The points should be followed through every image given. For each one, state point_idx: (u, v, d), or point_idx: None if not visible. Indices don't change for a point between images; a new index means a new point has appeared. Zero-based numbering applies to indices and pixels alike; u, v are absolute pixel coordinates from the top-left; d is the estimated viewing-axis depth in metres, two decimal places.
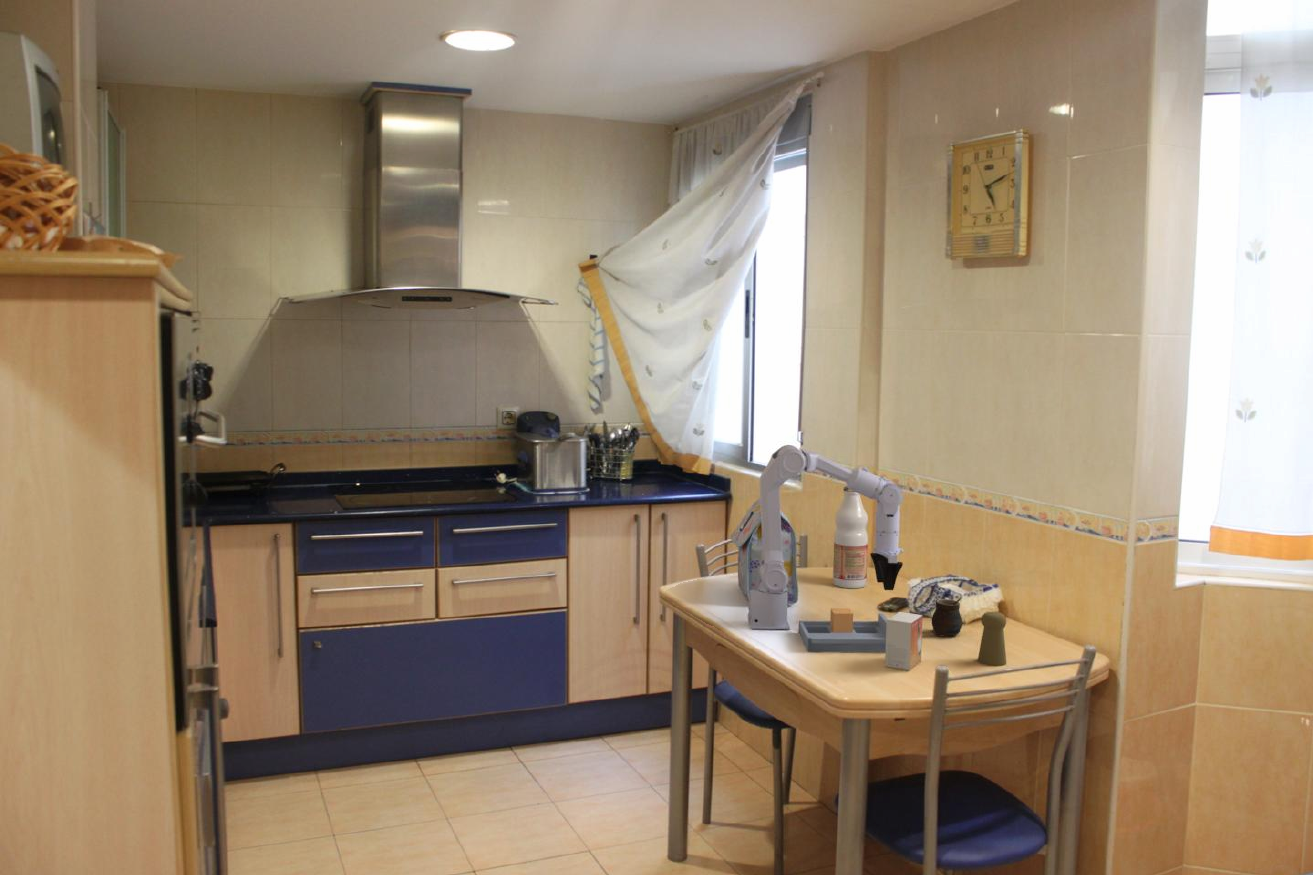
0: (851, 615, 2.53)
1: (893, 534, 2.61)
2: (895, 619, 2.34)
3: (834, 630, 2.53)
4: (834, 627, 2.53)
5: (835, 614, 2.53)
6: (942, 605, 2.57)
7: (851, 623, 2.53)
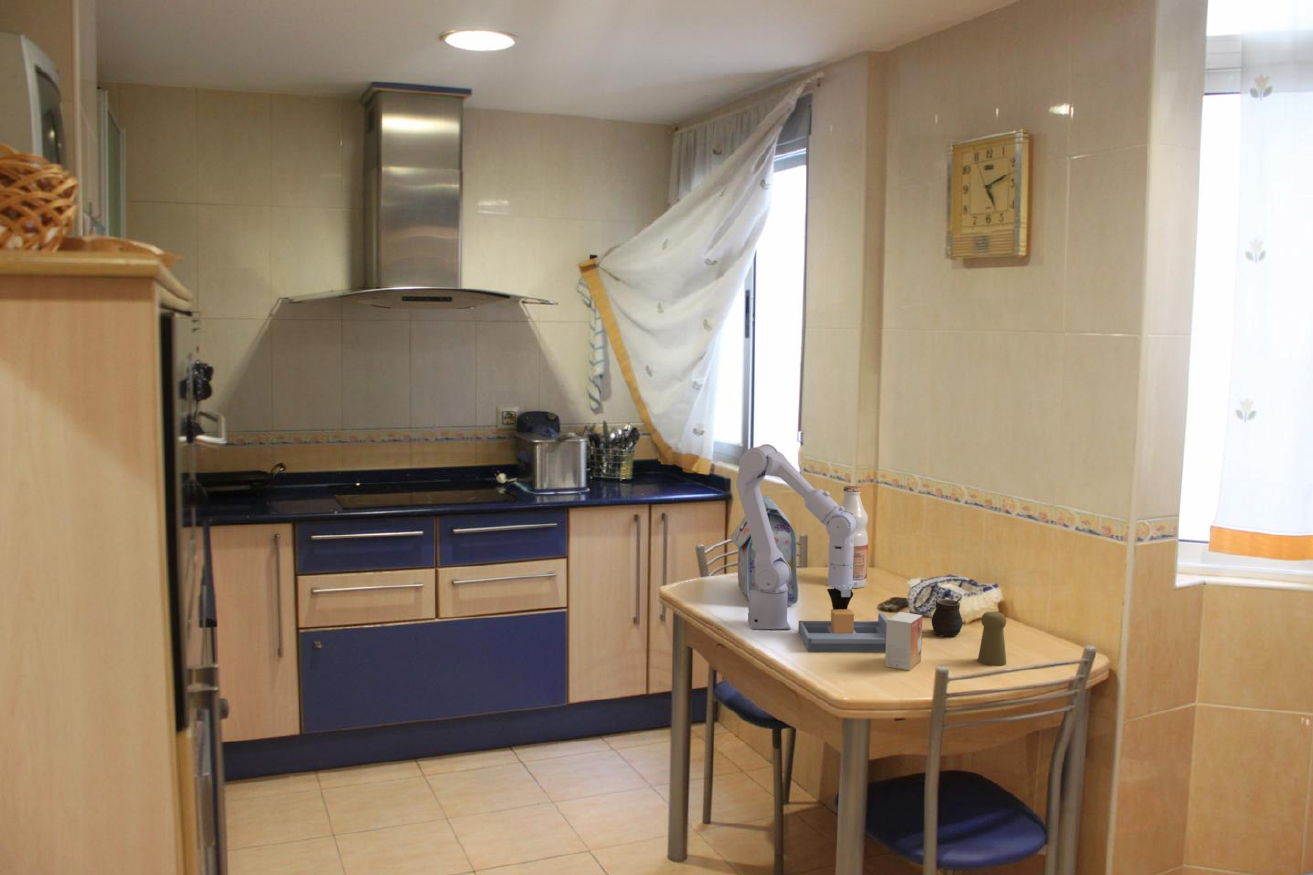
0: (852, 616, 2.52)
1: (847, 567, 2.54)
2: (895, 619, 2.34)
3: (835, 631, 2.53)
4: (835, 628, 2.53)
5: (836, 615, 2.52)
6: (942, 605, 2.57)
7: (852, 624, 2.53)
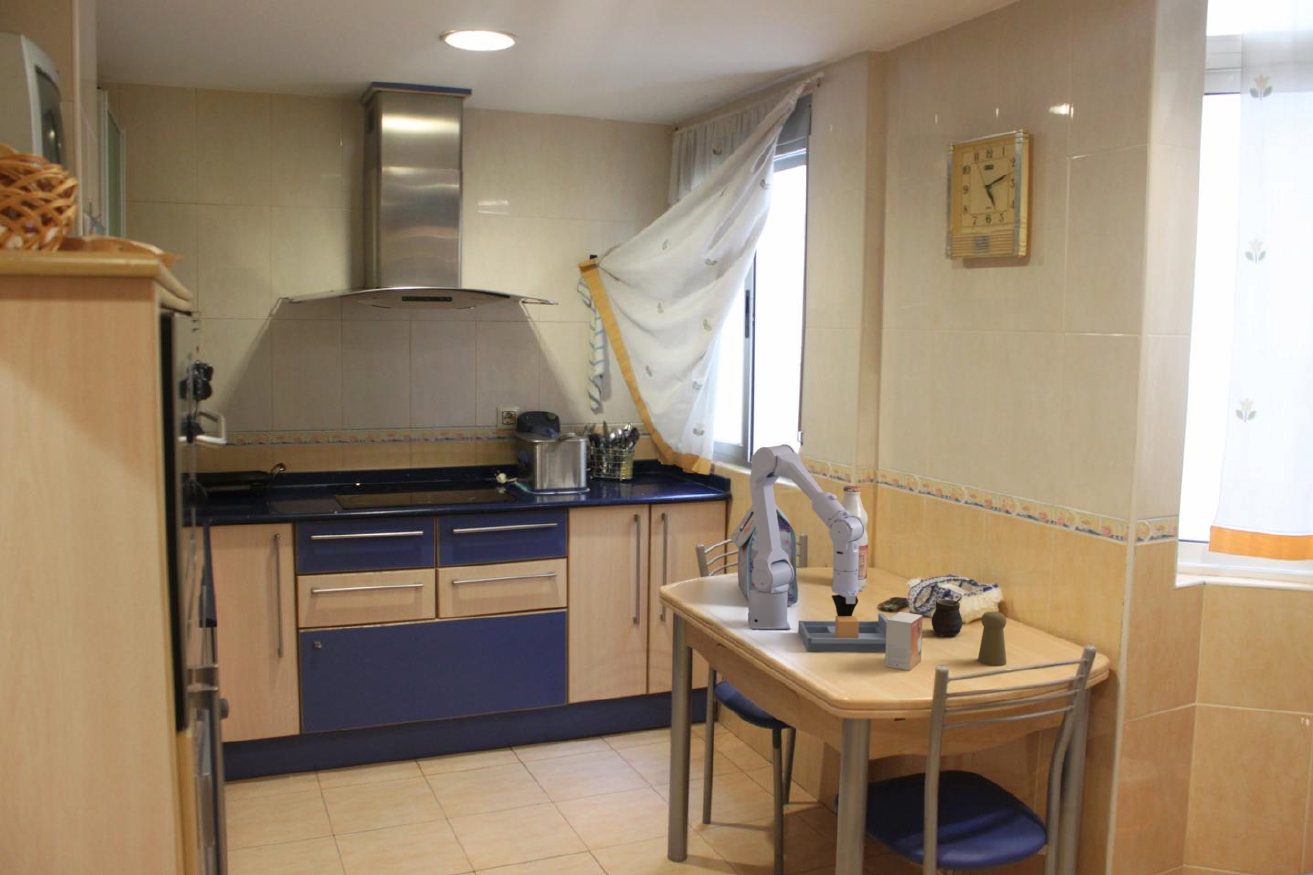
0: (857, 623, 2.46)
1: (852, 573, 2.48)
2: (895, 619, 2.34)
3: None
4: (839, 635, 2.47)
5: (840, 622, 2.46)
6: (942, 605, 2.57)
7: (857, 631, 2.47)
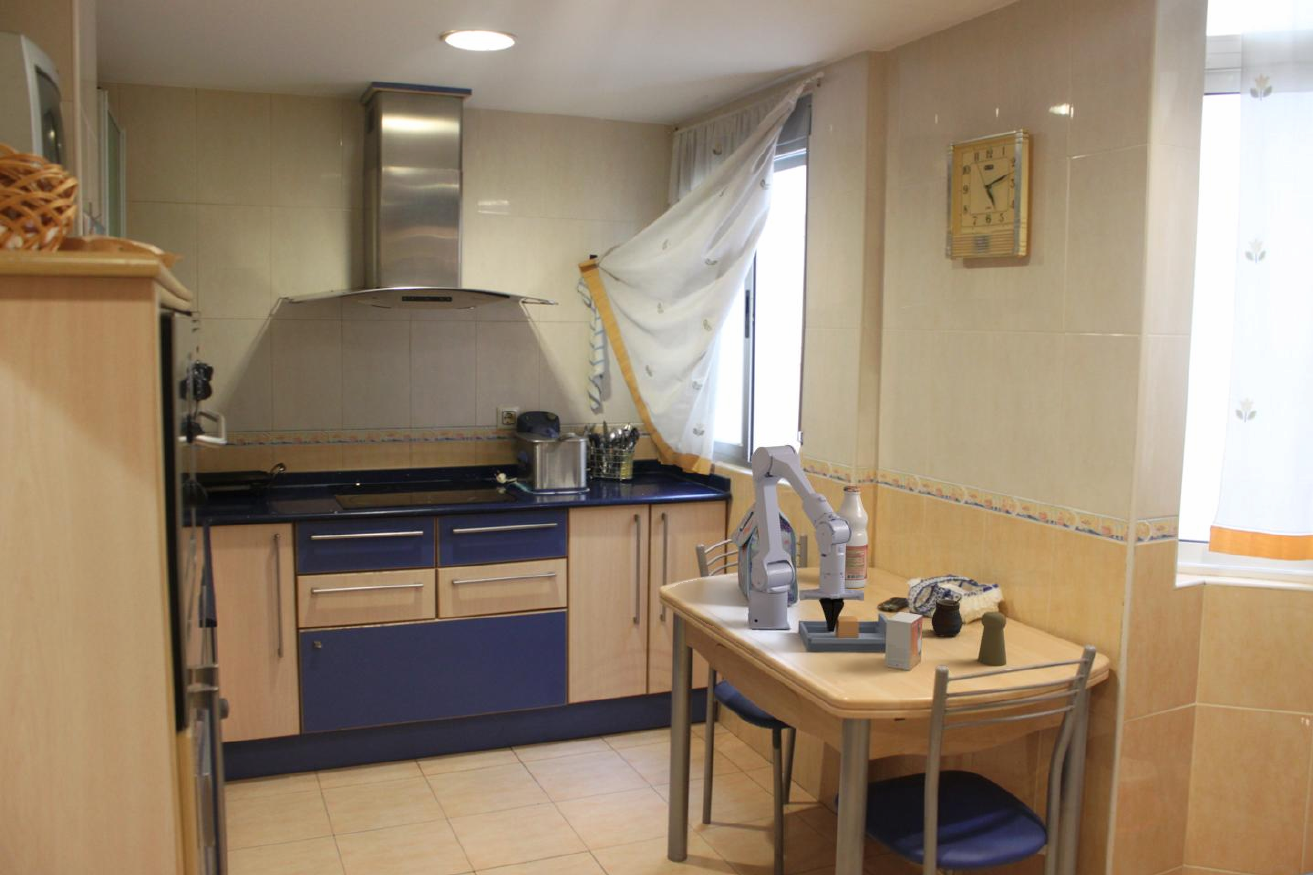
0: (857, 623, 2.46)
1: (821, 574, 2.47)
2: (895, 619, 2.34)
3: None
4: (839, 635, 2.47)
5: (840, 622, 2.46)
6: (942, 605, 2.57)
7: (857, 631, 2.47)
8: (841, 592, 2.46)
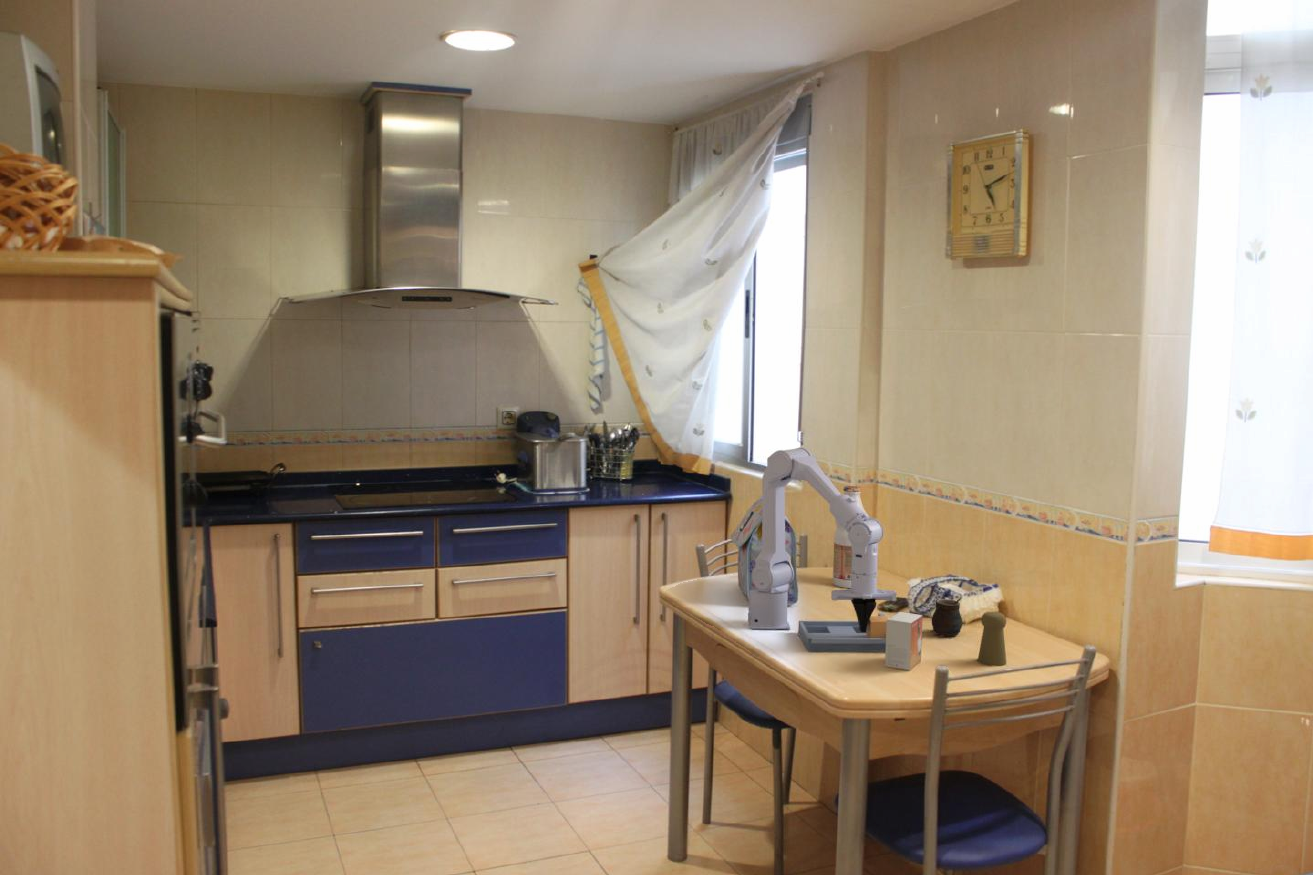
0: None
1: (853, 574, 2.47)
2: (895, 619, 2.34)
3: None
4: (871, 635, 2.47)
5: (872, 622, 2.46)
6: (942, 605, 2.57)
7: None
8: (873, 593, 2.46)
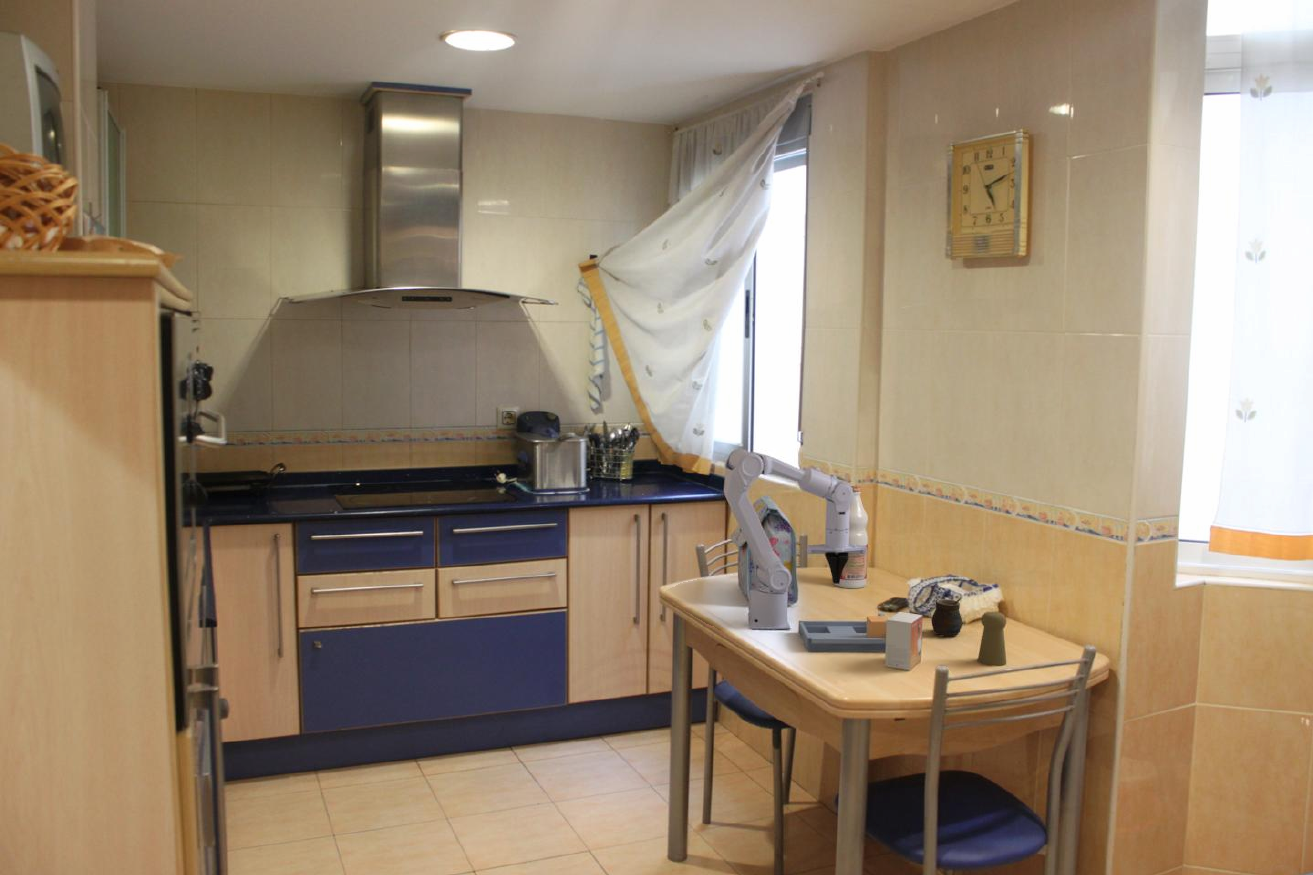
0: None
1: (826, 530, 2.67)
2: (895, 619, 2.34)
3: None
4: (871, 635, 2.47)
5: (872, 622, 2.46)
6: (942, 605, 2.57)
7: None
8: (845, 547, 2.66)
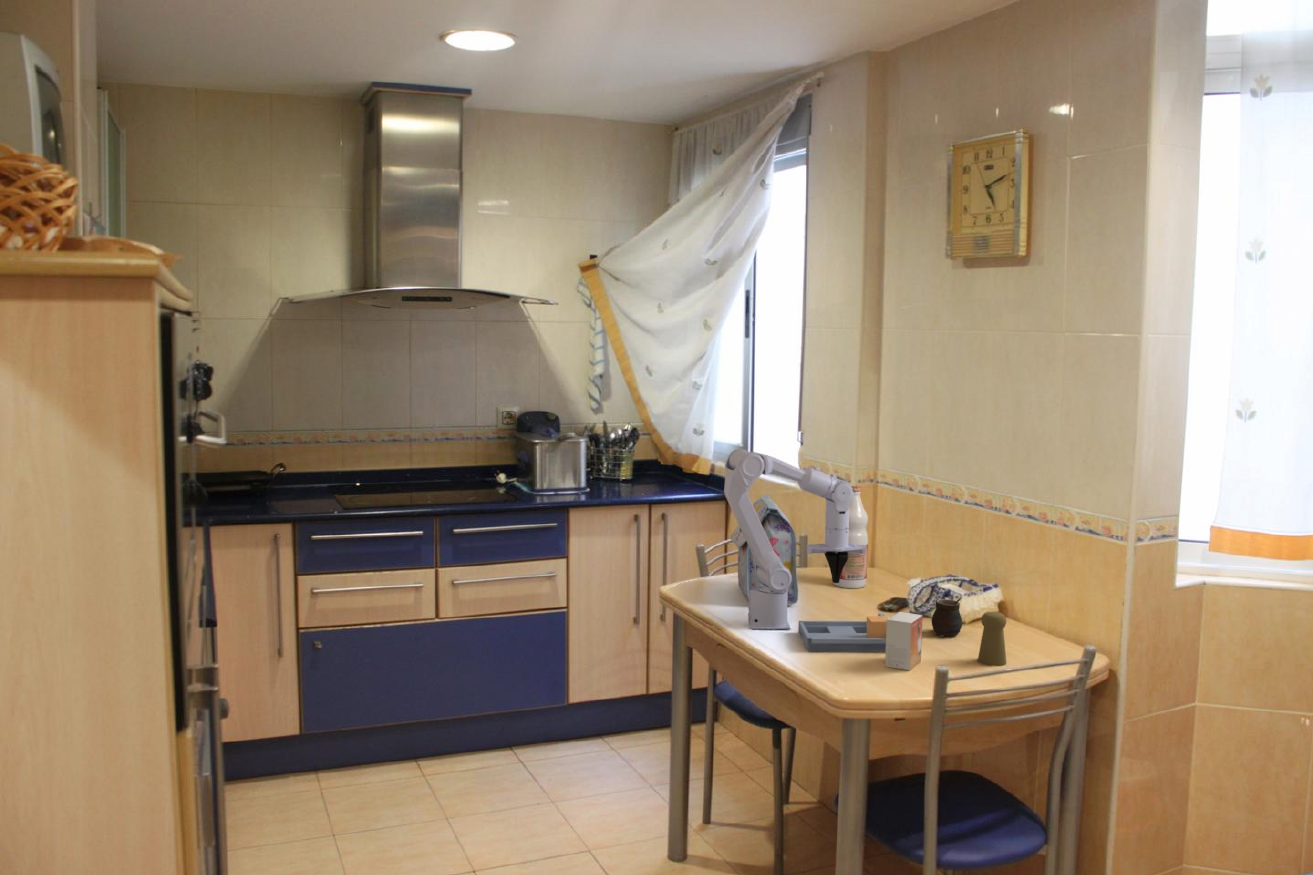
0: None
1: (826, 529, 2.67)
2: (895, 619, 2.34)
3: None
4: (871, 635, 2.47)
5: (872, 622, 2.46)
6: (942, 605, 2.57)
7: None
8: (845, 546, 2.66)
